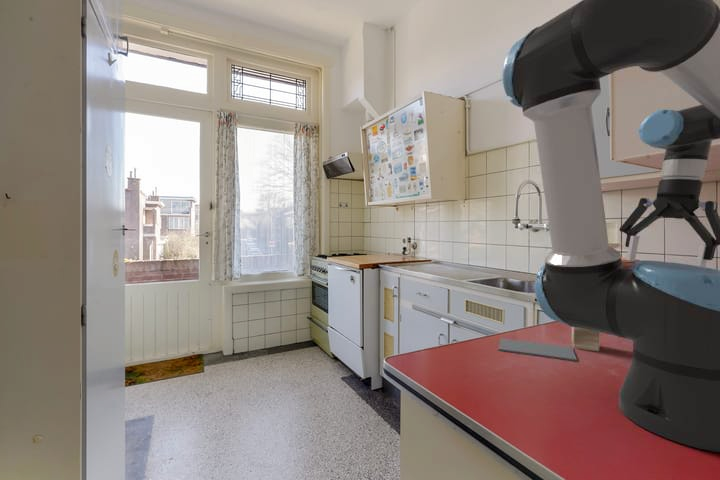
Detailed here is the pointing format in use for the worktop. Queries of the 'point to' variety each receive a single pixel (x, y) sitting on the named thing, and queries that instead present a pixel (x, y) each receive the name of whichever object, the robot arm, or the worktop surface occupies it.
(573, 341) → the block
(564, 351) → the mat
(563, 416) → the worktop surface
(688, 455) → the worktop surface
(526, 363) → the worktop surface
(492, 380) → the worktop surface
